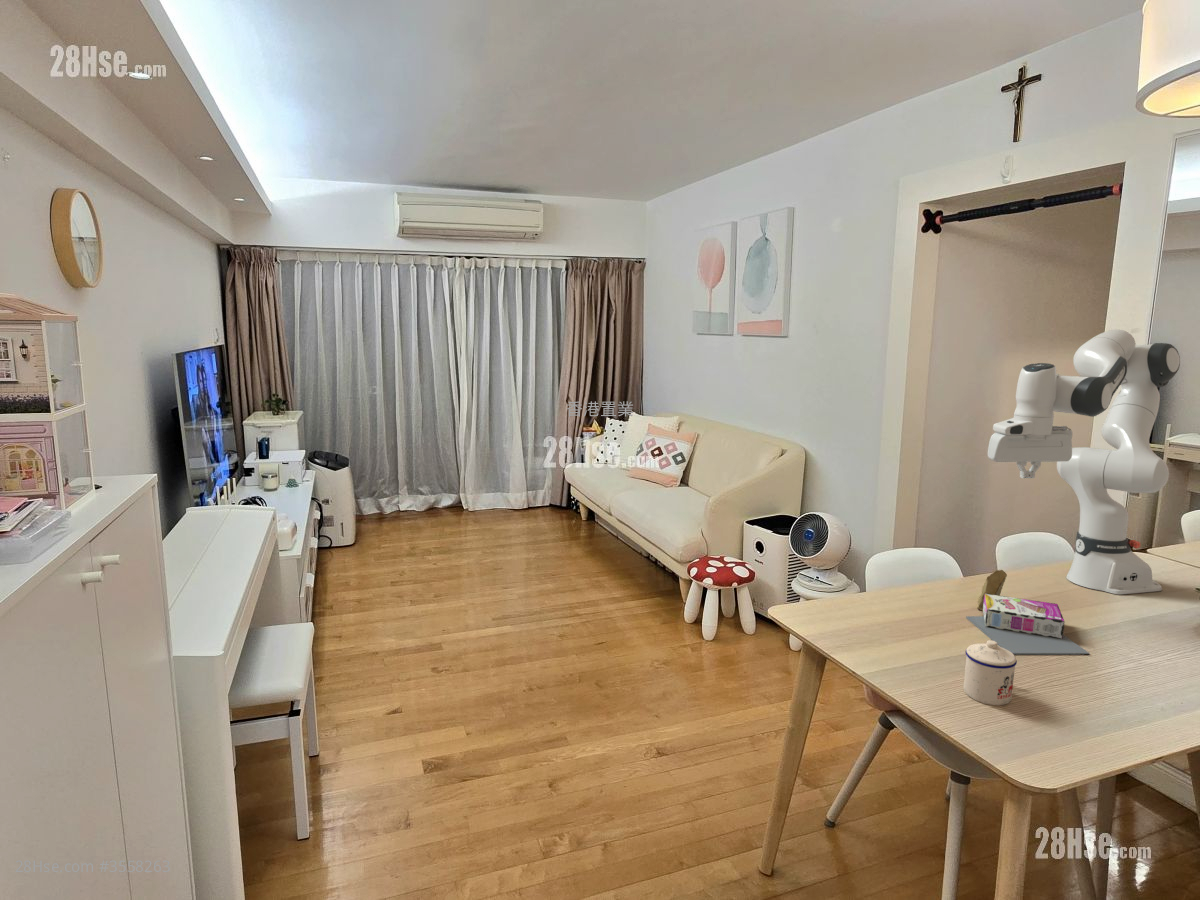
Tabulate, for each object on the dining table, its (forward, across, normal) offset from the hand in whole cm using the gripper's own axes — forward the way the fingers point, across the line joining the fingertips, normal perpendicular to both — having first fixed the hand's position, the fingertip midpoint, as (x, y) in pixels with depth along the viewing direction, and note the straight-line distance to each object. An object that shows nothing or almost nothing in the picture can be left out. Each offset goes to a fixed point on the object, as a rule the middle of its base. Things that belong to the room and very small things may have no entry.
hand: (1027, 477), depth 182 cm
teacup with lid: (+34, +32, +48) cm, 67 cm away
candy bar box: (+31, 0, +20) cm, 37 cm away
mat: (+34, +10, +22) cm, 42 cm away
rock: (+34, +10, +4) cm, 36 cm away
